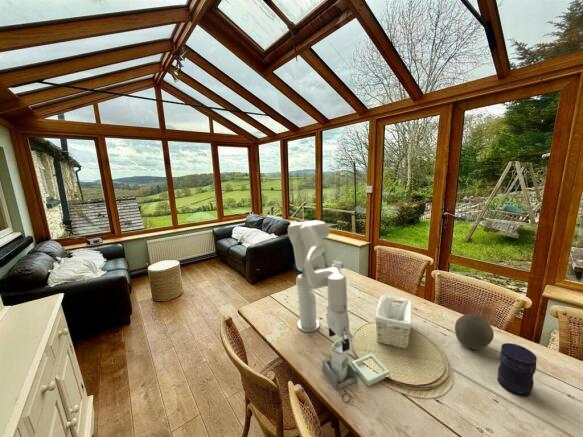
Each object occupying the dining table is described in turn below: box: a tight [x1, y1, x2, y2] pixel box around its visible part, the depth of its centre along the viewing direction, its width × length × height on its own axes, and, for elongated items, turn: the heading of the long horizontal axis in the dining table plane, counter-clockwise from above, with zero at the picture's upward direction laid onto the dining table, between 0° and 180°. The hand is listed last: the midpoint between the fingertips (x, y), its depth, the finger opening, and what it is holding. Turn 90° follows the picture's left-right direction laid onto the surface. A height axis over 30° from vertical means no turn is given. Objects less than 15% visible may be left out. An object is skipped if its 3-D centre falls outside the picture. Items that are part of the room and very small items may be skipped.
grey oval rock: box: [454, 313, 495, 350], centre depth 111 cm, size 14×14×15 cm
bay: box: [321, 357, 358, 391], centre depth 100 cm, size 11×10×5 cm
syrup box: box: [329, 339, 349, 383], centre depth 99 cm, size 6×6×14 cm
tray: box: [351, 353, 390, 387], centre depth 101 cm, size 11×11×2 cm
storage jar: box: [497, 342, 538, 398], centre depth 90 cm, size 10×10×15 cm
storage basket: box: [374, 294, 413, 349], centre depth 123 cm, size 24×16×15 cm
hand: (339, 342), depth 97 cm, fingers open, 9 cm apart
